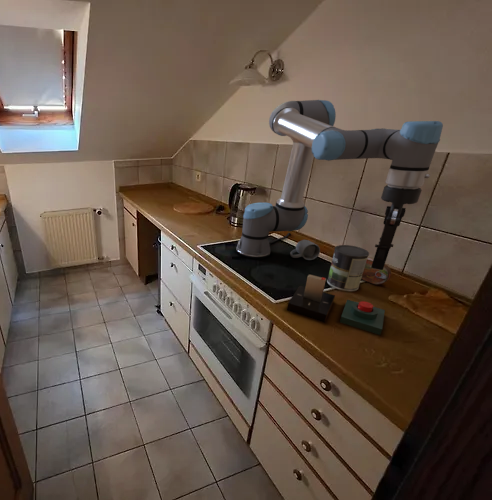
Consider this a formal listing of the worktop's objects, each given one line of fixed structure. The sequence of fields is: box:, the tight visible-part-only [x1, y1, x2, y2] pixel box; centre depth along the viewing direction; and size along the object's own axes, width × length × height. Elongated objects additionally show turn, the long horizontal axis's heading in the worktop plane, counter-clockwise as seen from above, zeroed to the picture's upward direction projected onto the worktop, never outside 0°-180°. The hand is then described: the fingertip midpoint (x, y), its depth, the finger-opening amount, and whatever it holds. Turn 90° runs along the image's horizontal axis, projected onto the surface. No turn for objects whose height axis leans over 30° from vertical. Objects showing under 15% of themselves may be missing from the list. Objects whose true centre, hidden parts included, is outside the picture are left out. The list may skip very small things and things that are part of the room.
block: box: [339, 299, 385, 336], centre depth 92 cm, size 12×10×4 cm
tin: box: [361, 257, 392, 285], centre depth 114 cm, size 15×3×8 cm, turn 24°
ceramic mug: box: [289, 239, 321, 261], centre depth 134 cm, size 11×8×8 cm
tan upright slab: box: [303, 274, 327, 302], centre depth 97 cm, size 5×2×8 cm, turn 50°
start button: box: [358, 300, 374, 312], centre depth 91 cm, size 4×4×2 cm
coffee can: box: [326, 244, 370, 292], centre depth 109 cm, size 10×10×14 cm
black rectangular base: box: [286, 285, 336, 323], centre depth 99 cm, size 14×11×3 cm
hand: (377, 267), depth 86 cm, fingers closed
